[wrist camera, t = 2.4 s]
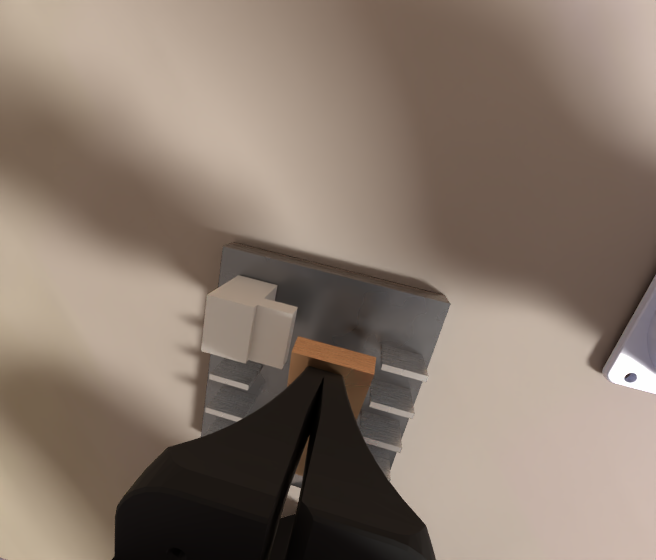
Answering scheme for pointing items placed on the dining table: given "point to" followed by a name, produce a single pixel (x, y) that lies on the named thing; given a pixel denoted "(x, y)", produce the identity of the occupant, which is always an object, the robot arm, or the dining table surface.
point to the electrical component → (282, 538)
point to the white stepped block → (248, 323)
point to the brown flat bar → (334, 360)
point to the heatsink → (334, 342)
